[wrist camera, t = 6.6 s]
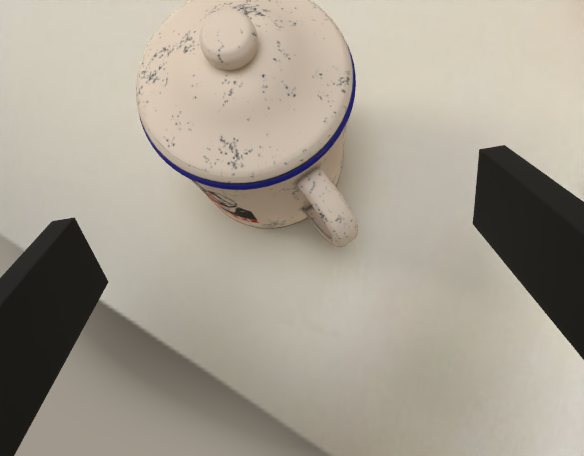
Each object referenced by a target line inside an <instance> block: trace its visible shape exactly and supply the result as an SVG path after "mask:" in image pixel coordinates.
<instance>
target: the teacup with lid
mask: <svg viewBox="0 0 584 456" xmlns="http://www.w3.org/2000/svg"><path fill="white" fill-rule="evenodd" d="M355 87H356V80H355V69H354V63H353V59H352V55H351V53H350V50H349V47H348V45H347V43H346V41H345V39H344V37H343V35H342V33H341V31H340V30H339V28H338V27H337V25H336V24H335V23H334V22H333V20H332V19H331V18H330V17H329V16H328V15H327V14H326V13H325V12H324V11H323V10H322V9H321V8H320V7H318V6H317V5H316V4H315V3H313V2H312V1H310V0H191V1H189V2H187V3H186V4H184V5H183V6H181V7H180V8H179V9H177V10H176V11H175V12H174V13H173V14H172V15H170V16H169V17H168V18H167V19H166V20H165V21H164V22H163V24H162V25H161V26H160V27H159V28H158V30H157V31H156V32H155V34H154V35H153V37H152V38H151V40H150V42H149V44H148V45H147V47H146V50H145V52H144V54H143V57H142V60H141V63H140V67H139V71H138V77H137V86H136V97H137V106H138V111H139V115H140V120H141V123H142V126H143V129H144V131H145V134H146V136H147V138H148V140H149V141H150V143H151V145H152V146H153V148H154V149H155V150H156V152H157V153H158V154H159V156H160V157H161V158H162V159H163V160H164V161H165V162H166V163H167V164H169V165H170V166H171V167H172V168H173V169H175V170H176V171H178V172H179V173H181V174H182V175H184V176H186V177H188V178H189V179H191V180H192V181H193V182H194V183H195V184H196V185H197V186H198V187H199V188H200V189H201V190H202V191H203V192H204V193H205V194H206V195H207V196H208V197H209V198H210V199H211V200H212V201H213V202H214V203H215V204H216V205H217V206H218V207H219V208H220V209H221V210H222V211H223V212H224V213H225V214H227V215H228V216H230V217H231V218H233V219H235V220H237V221H239V222H241V223H244V224H247V225H250V226H254V227H261V228H277V227H283V226H288V225H291V224H294V223H297V222H299V221H301V220H303V219H305V218H307V217H308V219H309V220H310V221H311V222H312V224H313V225H314V226H315V227H316V229H317V230H318V231H319V232H320V233H321V234H322V235H323V236H324V237H325V238H326V239H327V240H328V241H329V242H330V243H332V244H333V245H335V246H338V247H342V246H345V245H347V244H348V243H349V242H351V241H352V240H353V239H355V237H356V236H357V233H358V226H357V222H356V219H355V217H354V215H353V213H352V211H351V210H350V208H349V206H348V205H347V203H346V201H345V200H344V198H343V197H342V196H341V194H340V193H339V191H338V190H337V189H336V184H337V182H338V179H339V176H340V172H341V167H342V158H343V147H344V137H345V127H346V123H347V121H348V118H349V116H350V113H351V110H352V107H353V102H354V97H355Z"/></svg>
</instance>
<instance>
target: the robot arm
mask: <svg viewBox="0 0 584 456" xmlns="http://www.w3.org/2000/svg"><path fill="white" fill-rule="evenodd" d="M473 225H474V226H475V227H476V229H477V230H478V231H479V232H480V233H481V235H482V236H483V237H484V238H485V240H486V241H487V242H488V243H489V244H490V246H491V247H492V248H493V249H494V251H495V252H496V253H497V254H498V255H499V257H500V258H501V259H502V260H503V262H504V263H505V264H506V265H507V266H508V268H509V269H510V270H511V271H512V273H513V274H514V275H515V276H516V277H517V279H518V280H519V281H520V282H521V284H522V285H523V286H524V287H525V288H526V290H527V291H528V292H529V293H530V295H531V296H532V297H533V298H534V299H535V301H536V302H537V303H538V304H539V306H540V307H541V308H542V309H543V310H544V312H545V313H546V314H547V315H548V317H549V318H550V319H551V320H552V321H553V323H554V324H555V325H556V326H557V328H558V329H559V330H560V331H561V332H562V334H563V335H564V336H565V337H566V339H567V340H568V341H569V342H570V343H571V345H572V346H573V347H574V348H575V350H576V351H577V352H578V353H579V354H580V356H581V357H582V358H583V359H584V202H583V201H582V200H580V199H579V198H577V197H576V196H575V195H573V194H572V193H570V192H569V191H568V190H566V189H565V188H563V187H562V186H561V185H559V184H558V183H556V182H555V181H554V180H552V179H551V178H549V177H548V176H547V175H545V174H544V173H542V172H541V171H540V170H538V169H537V168H536V167H534V166H533V165H531V164H530V163H529V162H527V161H526V160H524V159H523V158H522V157H520V156H519V155H517V154H516V153H515V152H513V151H512V150H510V149H509V148H508V147H506V146H505V145H503V146H497V147H491V148H485V149H479V160H478V172H477V183H476V194H475V206H474V217H473ZM107 284H108V280H107V278H106V276H105V274H104V273H103V271H102V269H101V267H100V265H99V263H98V261H97V259H96V257H95V255H94V254H93V252H92V250H91V248H90V246H89V244H88V242H87V240H86V238H85V237H84V235H83V233H82V231H81V229H80V227H79V225H78V223H77V221H76V219H75V218H69V219H63V220H57V221H52V222H51V223H50V224H49V225H48V226H47V227H46V229H45V230H44V231H43V232H42V233H41V234H40V235H39V236H38V237H37V238H36V240H35V241H34V242H33V243H32V244H31V245H30V246H29V247H28V248H27V249H26V250H25V252H24V253H23V254H22V255H21V256H20V257H19V258H18V259H17V260H16V261H15V263H14V264H13V265H12V266H11V267H10V268H9V269H8V270H7V271H6V273H5V274H4V275H3V276H2V277H1V278H0V456H14V455H15V453H16V451H17V449H18V447H19V446H20V444H21V442H22V440H23V438H24V436H25V434H26V433H27V431H28V429H29V427H30V425H31V423H32V422H33V420H34V418H35V416H36V414H37V412H38V411H39V409H40V407H41V405H42V403H43V401H44V399H45V398H46V396H47V394H48V392H49V390H50V388H51V387H52V385H53V383H54V381H55V379H56V377H57V376H58V374H59V372H60V370H61V368H62V366H63V365H64V363H65V361H66V359H67V357H68V355H69V354H70V351H71V350H72V348H73V346H74V344H75V342H76V341H77V339H78V337H79V335H80V333H81V331H82V329H83V328H84V326H85V324H86V322H87V320H88V319H89V316H90V315H91V313H92V311H93V309H94V307H95V306H96V304H97V302H98V300H99V298H100V297H101V295H102V293H103V291H104V289H105V287H106V285H107Z"/></svg>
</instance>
